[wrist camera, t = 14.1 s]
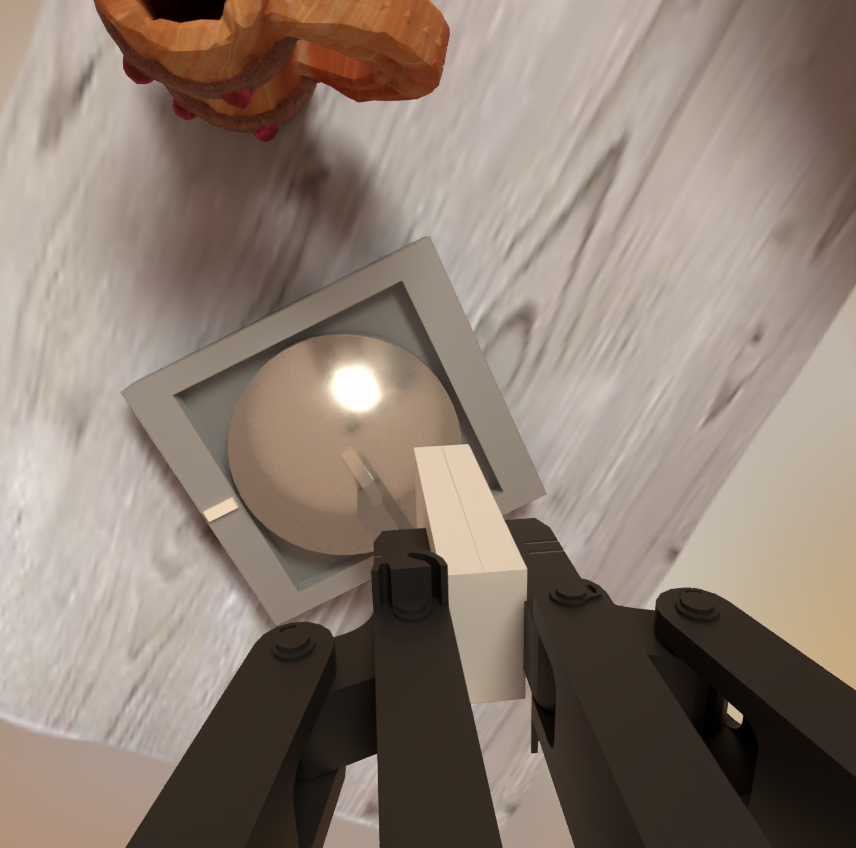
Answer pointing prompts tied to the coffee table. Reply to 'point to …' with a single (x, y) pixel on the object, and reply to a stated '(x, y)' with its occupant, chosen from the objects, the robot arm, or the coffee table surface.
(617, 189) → the coffee table surface
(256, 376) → the dial
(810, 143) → the coffee table surface
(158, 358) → the coffee table surface
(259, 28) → the mug
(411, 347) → the board
